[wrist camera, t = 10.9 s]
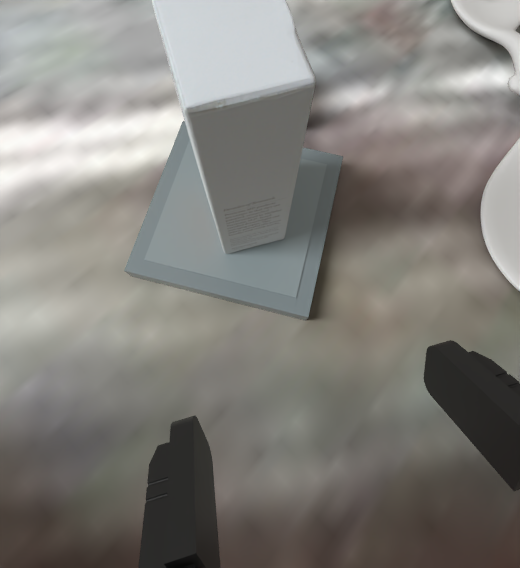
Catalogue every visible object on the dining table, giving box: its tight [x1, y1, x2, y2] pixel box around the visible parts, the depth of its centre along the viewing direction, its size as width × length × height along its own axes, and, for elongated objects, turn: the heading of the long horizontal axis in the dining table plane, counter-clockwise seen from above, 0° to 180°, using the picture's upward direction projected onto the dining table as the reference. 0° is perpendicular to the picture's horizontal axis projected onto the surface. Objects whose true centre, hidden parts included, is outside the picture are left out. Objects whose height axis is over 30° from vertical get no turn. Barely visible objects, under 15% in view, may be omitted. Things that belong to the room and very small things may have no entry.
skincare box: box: [152, 0, 316, 254], centre depth 16 cm, size 6×4×12 cm
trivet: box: [124, 121, 343, 320], centre depth 22 cm, size 12×12×1 cm
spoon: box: [451, 0, 520, 291], centre depth 24 cm, size 9×32×4 cm, turn 179°
